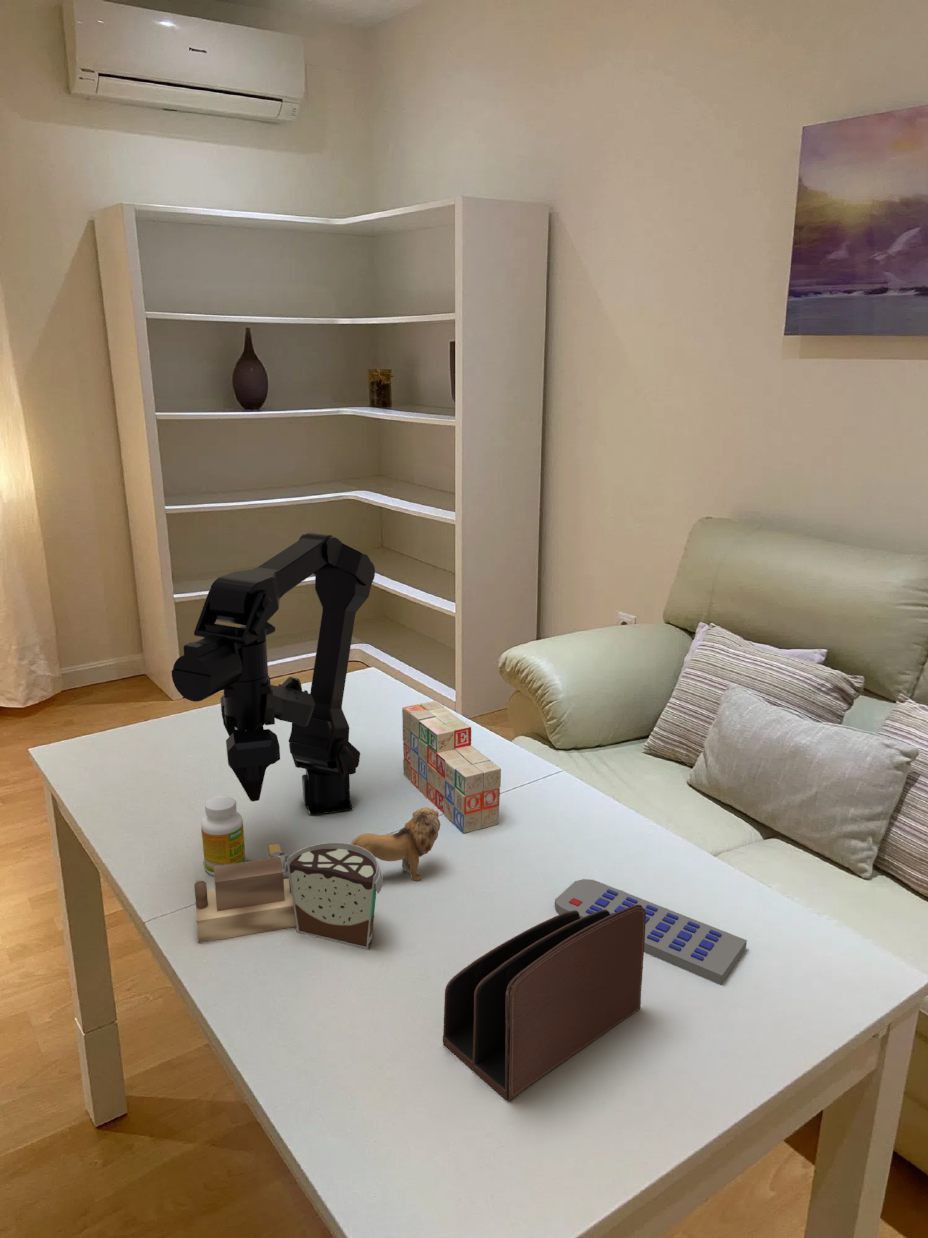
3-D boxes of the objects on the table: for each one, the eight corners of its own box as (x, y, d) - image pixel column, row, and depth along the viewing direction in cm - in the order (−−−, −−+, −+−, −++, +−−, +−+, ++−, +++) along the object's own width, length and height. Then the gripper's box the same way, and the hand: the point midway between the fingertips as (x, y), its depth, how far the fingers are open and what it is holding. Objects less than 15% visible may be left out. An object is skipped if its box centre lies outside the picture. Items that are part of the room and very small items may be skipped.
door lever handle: (292, 854, 127) (291, 830, 126) (300, 888, 120) (299, 862, 118) (256, 859, 126) (254, 835, 125) (261, 894, 118) (260, 868, 117)
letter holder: (641, 1010, 99) (651, 898, 95) (508, 1105, 87) (512, 980, 82) (573, 964, 106) (579, 857, 102) (441, 1045, 94) (442, 927, 90)
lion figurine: (431, 855, 128) (432, 797, 125) (446, 875, 123) (447, 815, 120) (329, 879, 122) (327, 818, 119) (341, 900, 117) (339, 838, 114)
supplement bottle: (235, 880, 121) (230, 814, 118) (197, 875, 122) (192, 810, 119) (252, 858, 126) (248, 795, 123) (215, 853, 127) (211, 791, 124)
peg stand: (298, 897, 118) (297, 856, 116) (305, 925, 112) (303, 882, 110) (197, 913, 114) (193, 871, 112) (198, 943, 109) (194, 899, 107)
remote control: (720, 990, 103) (722, 974, 102) (548, 914, 116) (549, 899, 115) (745, 953, 109) (747, 938, 108) (580, 885, 122) (580, 871, 121)
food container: (400, 922, 113) (399, 851, 110) (379, 952, 107) (378, 878, 104) (310, 902, 117) (307, 832, 114) (286, 930, 111) (282, 858, 108)
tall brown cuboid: (215, 895, 113) (213, 866, 112) (281, 885, 115) (280, 857, 114) (217, 911, 110) (214, 882, 108) (284, 900, 112) (283, 872, 111)
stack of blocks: (500, 825, 136) (502, 749, 132) (463, 835, 133) (464, 758, 129) (436, 767, 154) (436, 699, 150) (402, 774, 151) (401, 705, 147)
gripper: (319, 694, 111) (323, 809, 115) (299, 646, 128) (303, 748, 132) (224, 703, 107) (232, 822, 112) (217, 652, 124) (224, 757, 129)
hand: (252, 784), depth 121 cm, fingers open, 9 cm apart
